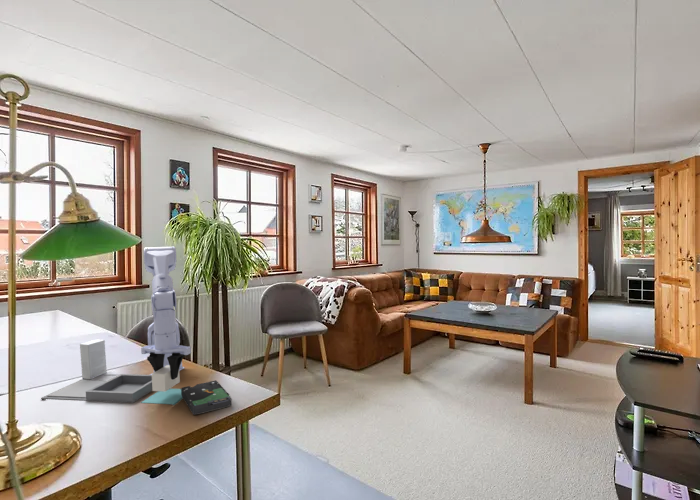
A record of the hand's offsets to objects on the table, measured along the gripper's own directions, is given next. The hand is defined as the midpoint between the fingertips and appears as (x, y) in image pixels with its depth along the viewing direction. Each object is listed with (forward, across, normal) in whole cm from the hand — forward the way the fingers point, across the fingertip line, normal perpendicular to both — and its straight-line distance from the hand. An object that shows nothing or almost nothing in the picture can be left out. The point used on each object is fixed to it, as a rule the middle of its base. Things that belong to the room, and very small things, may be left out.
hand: (167, 378), depth 112 cm
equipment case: (+6, -23, +2) cm, 23 cm away
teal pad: (+6, 0, 0) cm, 6 cm away
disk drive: (+6, +13, -2) cm, 14 cm away
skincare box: (+6, -37, +14) cm, 40 cm away
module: (+2, 0, 0) cm, 2 cm away
